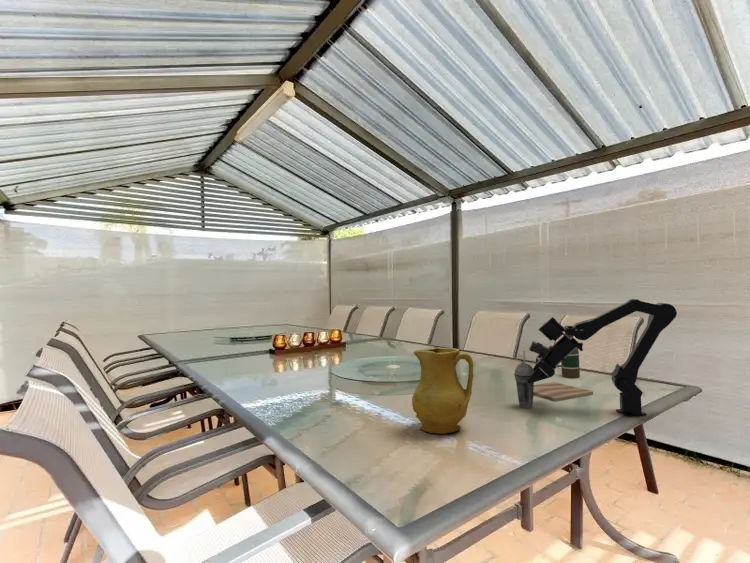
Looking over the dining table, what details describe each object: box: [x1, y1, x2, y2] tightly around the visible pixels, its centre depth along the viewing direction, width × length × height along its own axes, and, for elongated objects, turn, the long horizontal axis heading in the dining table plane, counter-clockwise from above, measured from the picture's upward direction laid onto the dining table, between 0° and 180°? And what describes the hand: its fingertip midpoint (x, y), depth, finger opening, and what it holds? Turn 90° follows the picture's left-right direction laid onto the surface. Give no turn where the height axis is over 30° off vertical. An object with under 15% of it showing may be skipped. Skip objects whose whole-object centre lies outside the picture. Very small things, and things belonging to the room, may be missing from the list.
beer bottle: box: [560, 325, 581, 379], centre depth 197 cm, size 8×8×24 cm
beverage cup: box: [513, 350, 535, 409], centre depth 152 cm, size 7×7×20 cm
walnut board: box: [533, 381, 594, 402], centre depth 170 cm, size 20×20×1 cm
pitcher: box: [411, 346, 474, 435], centre depth 131 cm, size 17×19×25 cm
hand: (528, 379), depth 152 cm, fingers open, 9 cm apart
